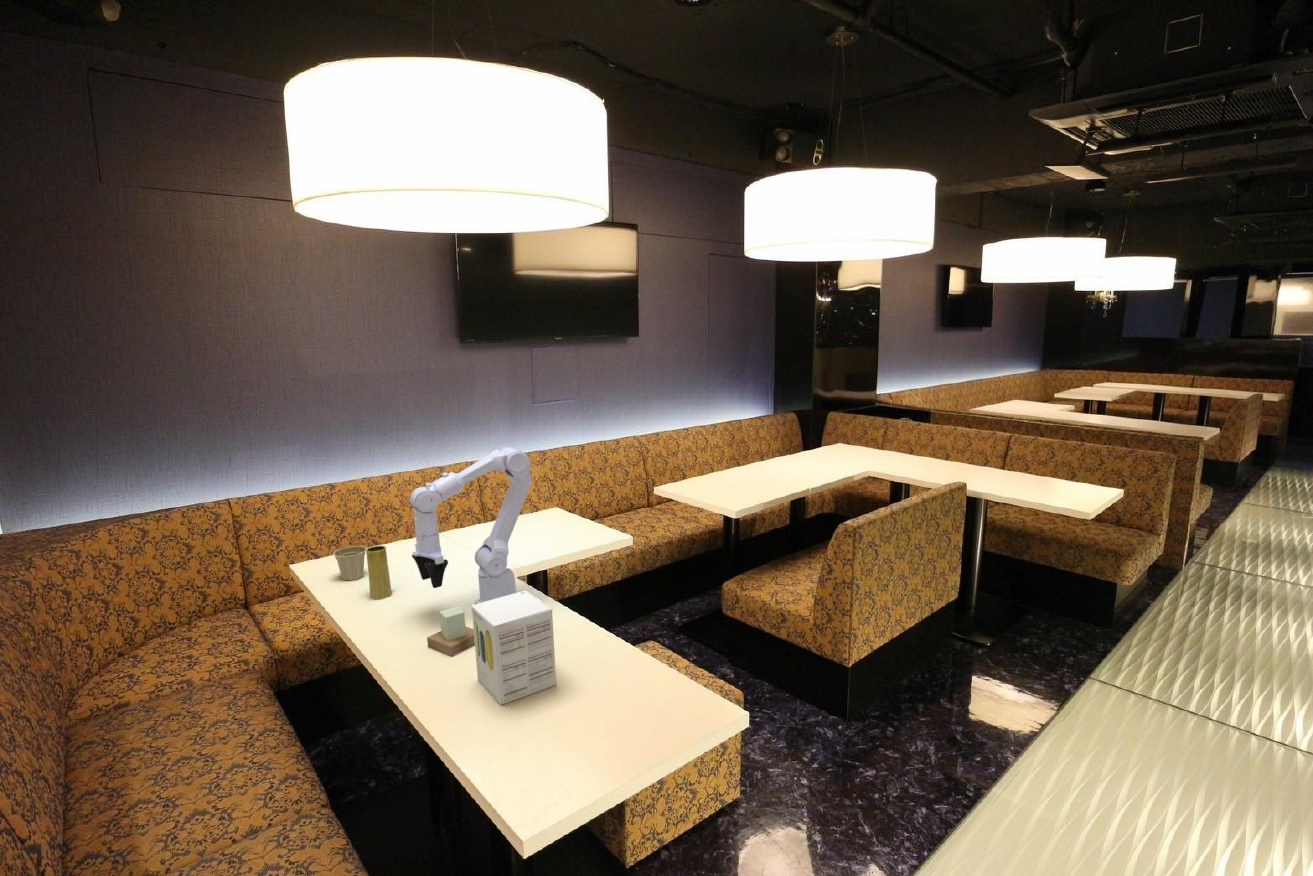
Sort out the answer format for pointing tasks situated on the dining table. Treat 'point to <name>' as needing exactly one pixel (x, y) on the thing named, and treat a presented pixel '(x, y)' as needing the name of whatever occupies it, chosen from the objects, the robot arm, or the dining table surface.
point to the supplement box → (514, 646)
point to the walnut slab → (451, 643)
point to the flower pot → (351, 562)
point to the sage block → (452, 623)
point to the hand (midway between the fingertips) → (431, 582)
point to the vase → (378, 572)
